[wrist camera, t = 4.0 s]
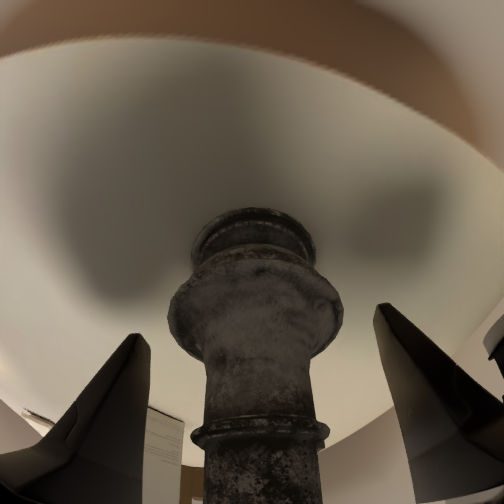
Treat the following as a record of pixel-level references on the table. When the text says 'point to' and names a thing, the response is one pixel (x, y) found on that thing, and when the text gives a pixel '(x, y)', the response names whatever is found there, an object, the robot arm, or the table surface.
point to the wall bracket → (38, 423)
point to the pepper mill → (257, 355)
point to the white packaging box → (162, 459)
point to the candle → (191, 484)
